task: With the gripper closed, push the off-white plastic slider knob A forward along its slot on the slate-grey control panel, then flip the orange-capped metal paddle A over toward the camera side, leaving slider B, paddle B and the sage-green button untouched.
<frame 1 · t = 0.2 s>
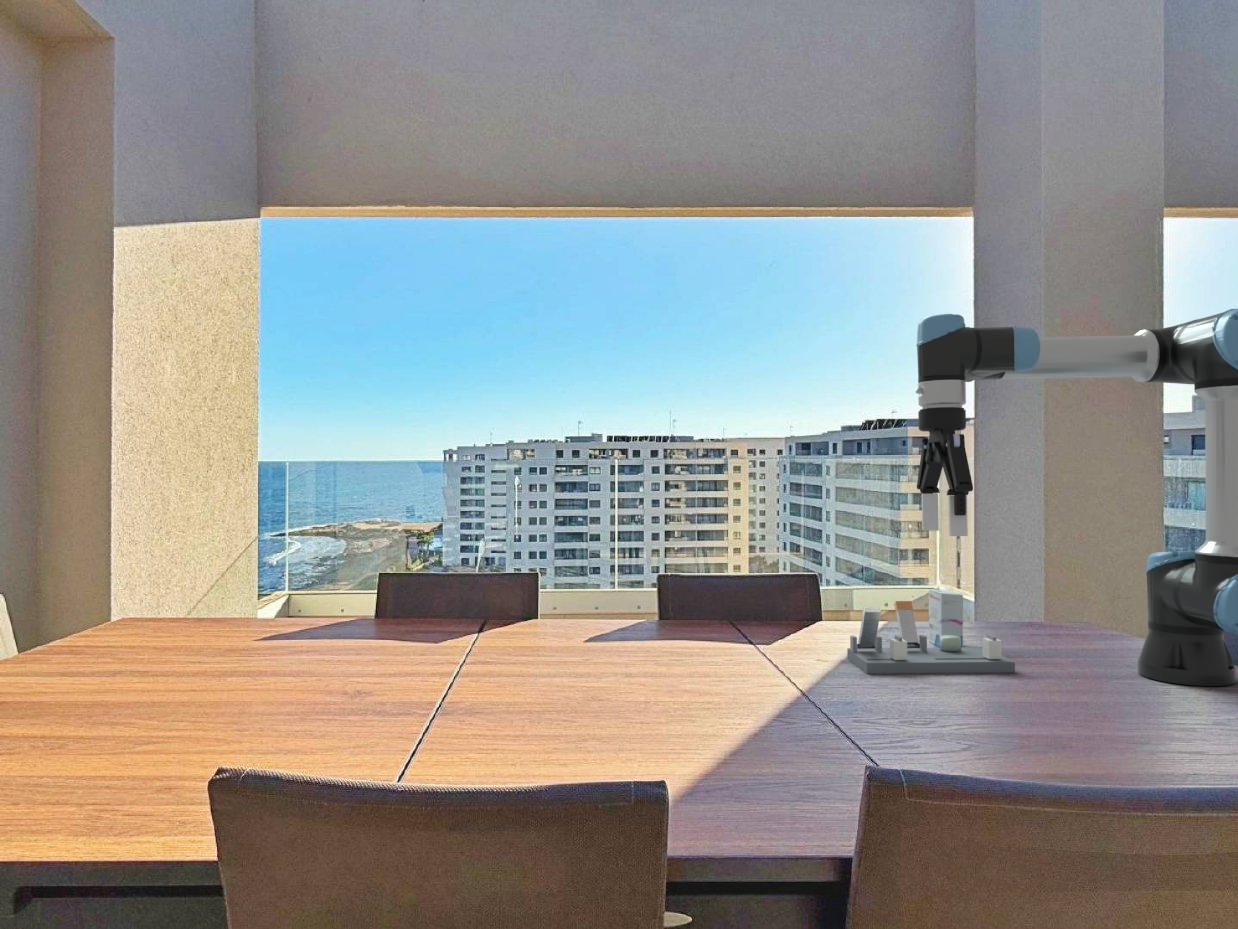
hand: (943, 533, 147), 28 cm above the table, fingers open, 13 cm apart
slider b: (898, 647, 168), point 4 cm above the table, slide at 0.0 cm
panel: (927, 665, 172), on the table
toggle a: (906, 625, 178), point 7 cm above the table, hinge at -30.0°
slider a: (992, 646, 168), point 4 cm above the table, slide at 0.0 cm
ink box: (945, 645, 192), on the table
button: (950, 643, 176), point 3 cm above the table, slide at 0.0 cm
toggle b: (868, 629, 174), point 7 cm above the table, hinge at 30.0°
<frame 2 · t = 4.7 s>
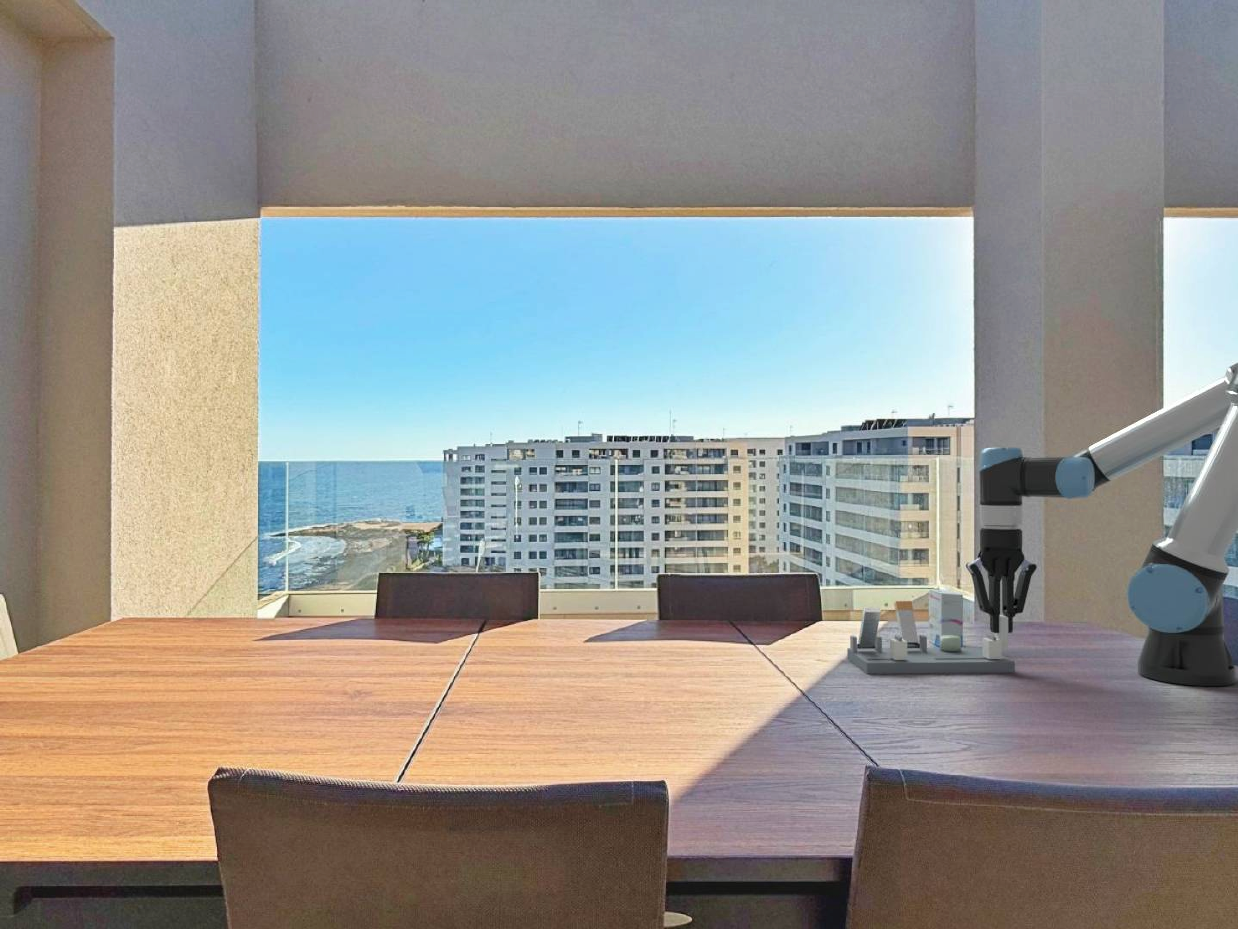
hand: (1001, 649, 168), 4 cm above the table, fingers closed
slider a: (991, 646, 168), point 4 cm above the table, slide at 0.0 cm, touching gripper
everything else where it was.
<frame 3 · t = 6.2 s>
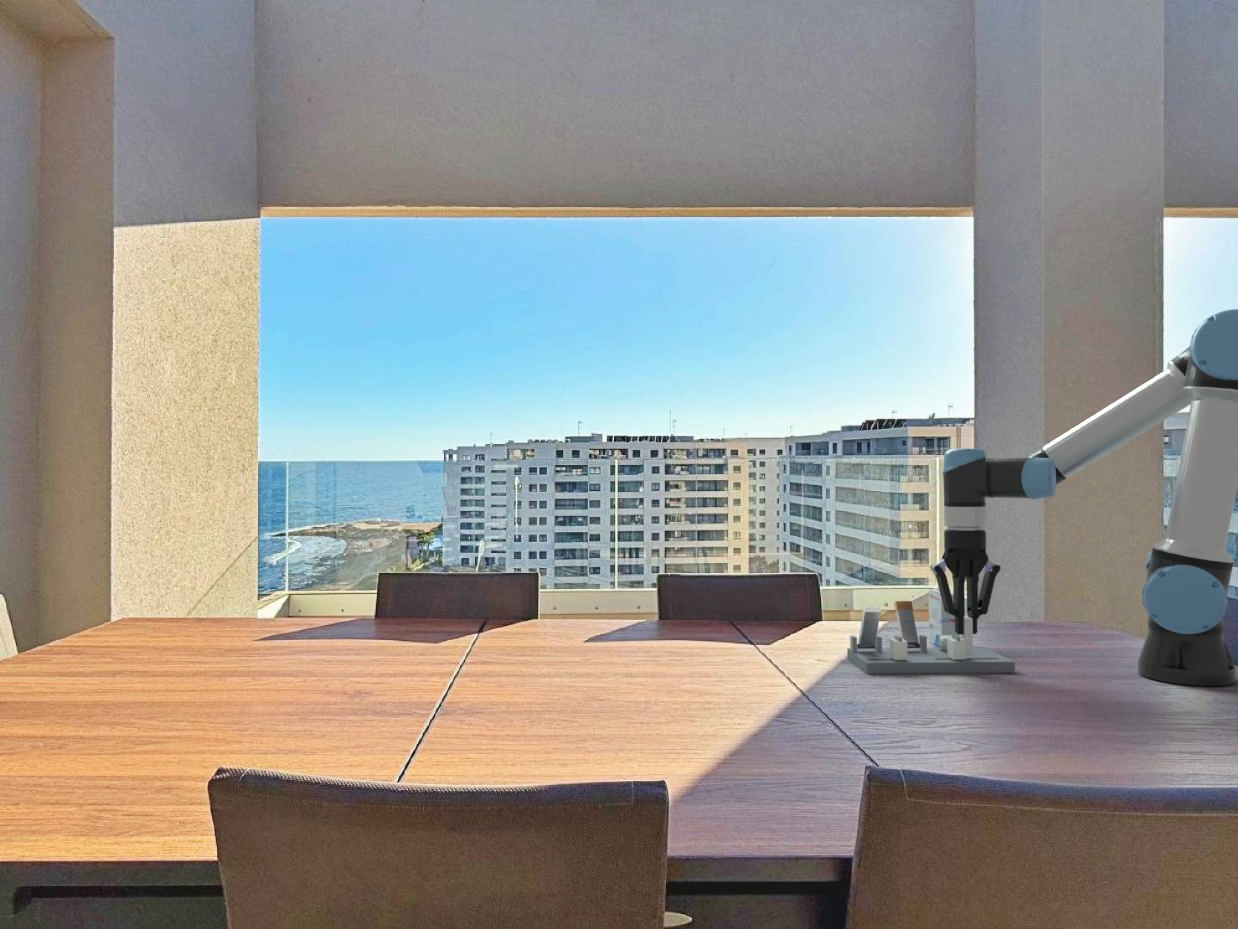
hand: (966, 651, 168), 3 cm above the table, fingers closed
slider a: (956, 647, 168), point 4 cm above the table, slide at 6.9 cm, touching gripper
everything else where it was.
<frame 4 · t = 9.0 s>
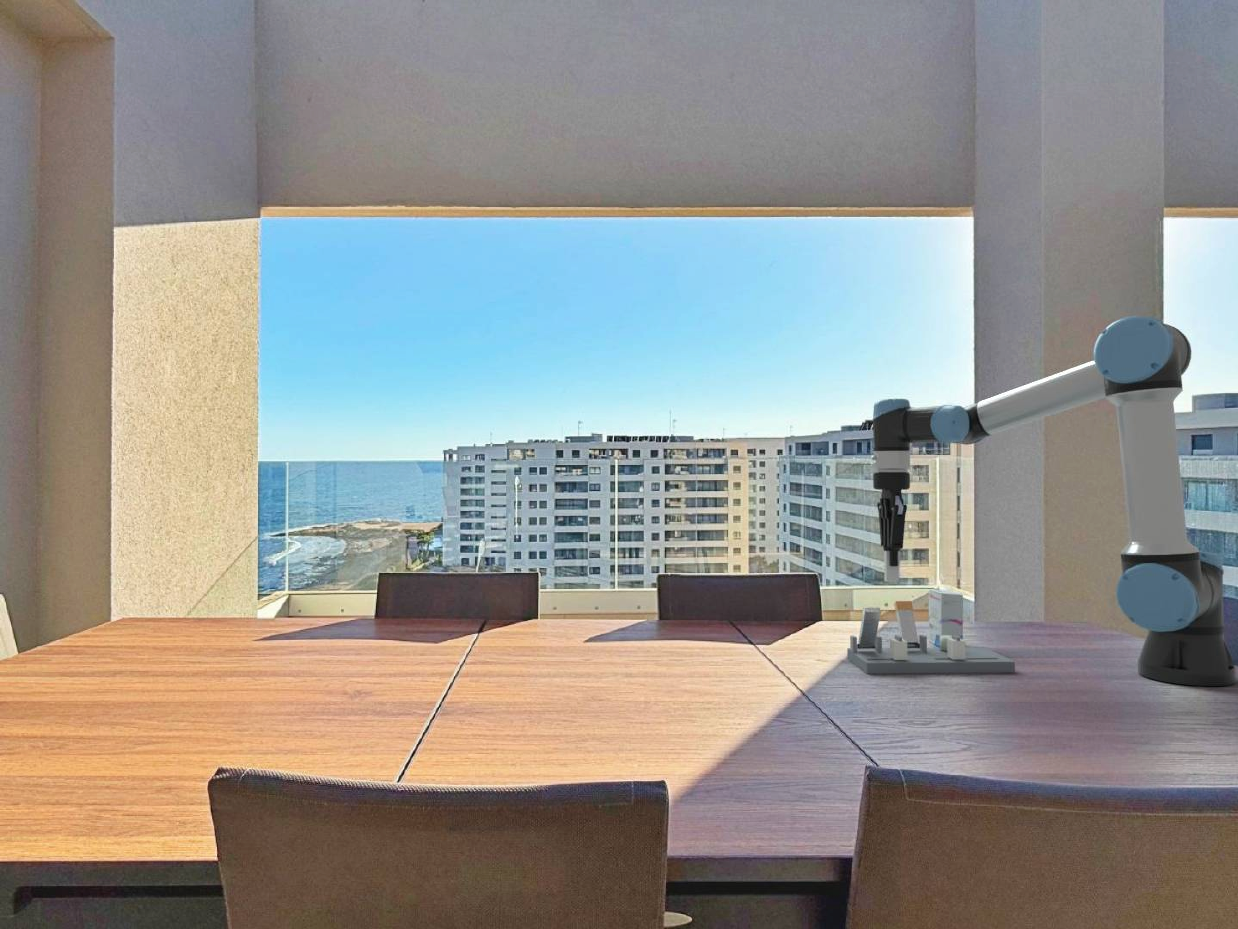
hand: (891, 581, 187), 15 cm above the table, fingers closed
slider a: (956, 647, 168), point 4 cm above the table, slide at 6.9 cm
everything else where it was.
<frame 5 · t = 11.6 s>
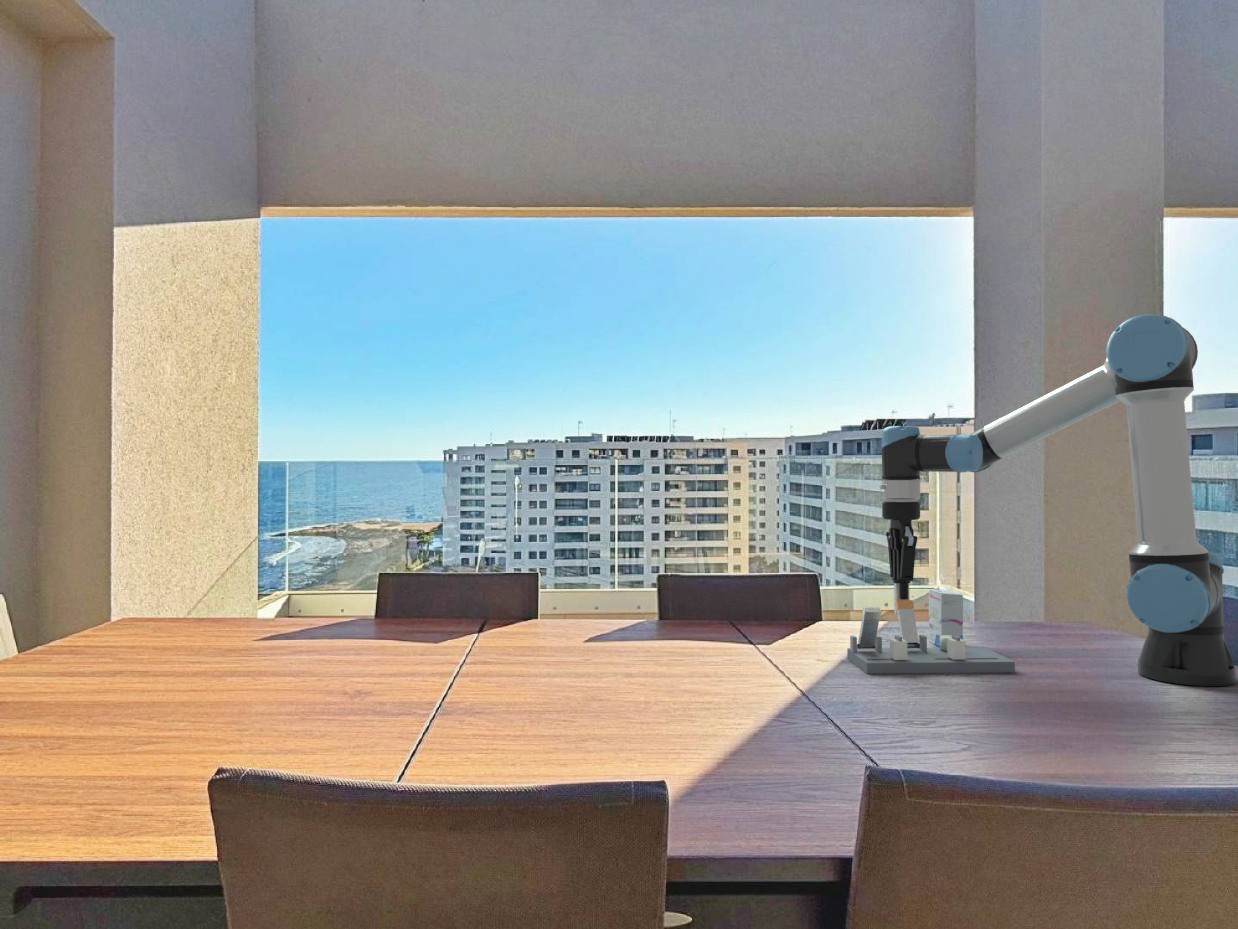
hand: (901, 614, 181), 9 cm above the table, fingers closed
toggle a: (907, 624, 178), point 7 cm above the table, hinge at -25.1°, touching gripper
everything else where it was.
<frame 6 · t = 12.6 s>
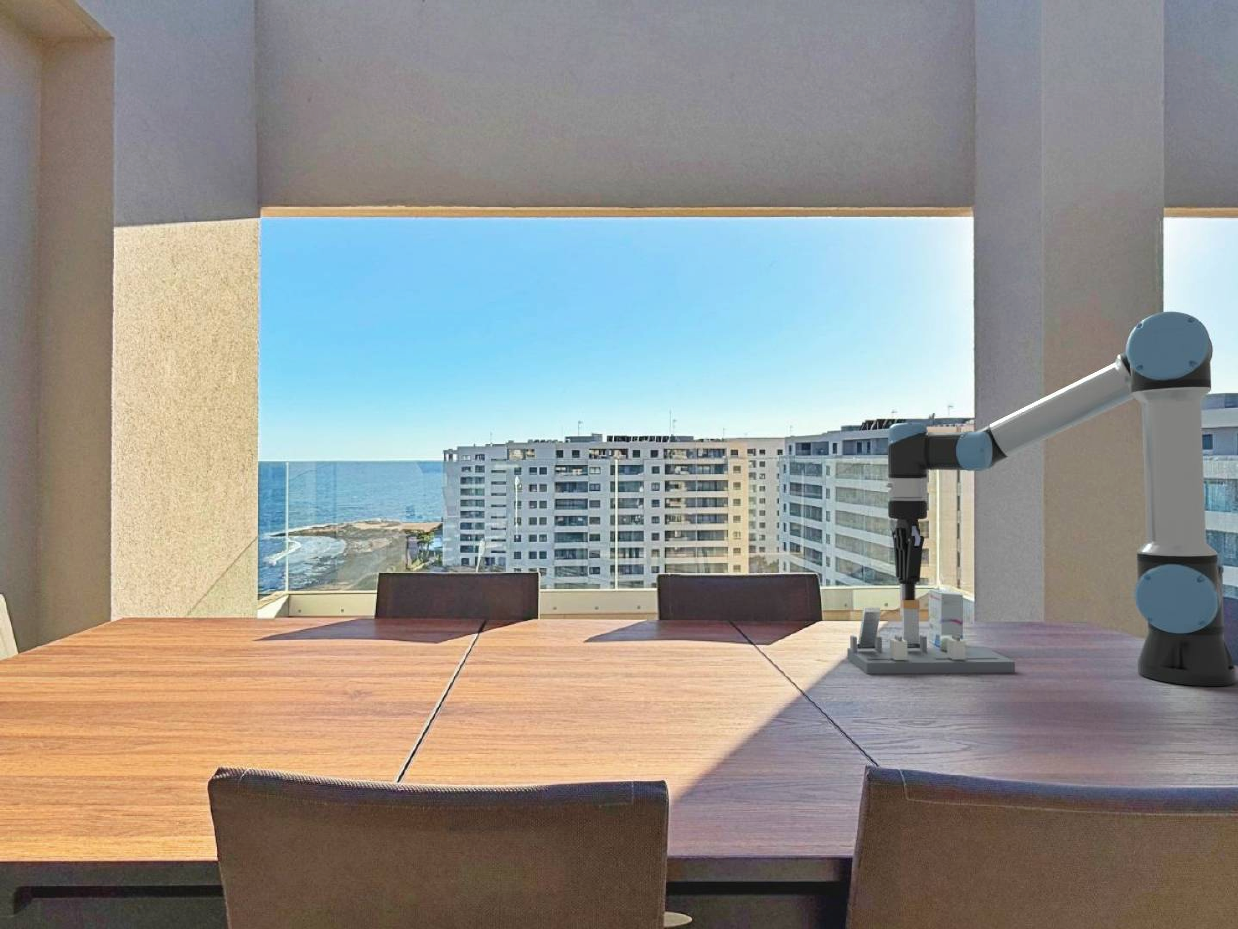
hand: (907, 615, 177), 9 cm above the table, fingers closed
toggle a: (910, 624, 176), point 7 cm above the table, hinge at 0.8°, touching gripper
everything else where it was.
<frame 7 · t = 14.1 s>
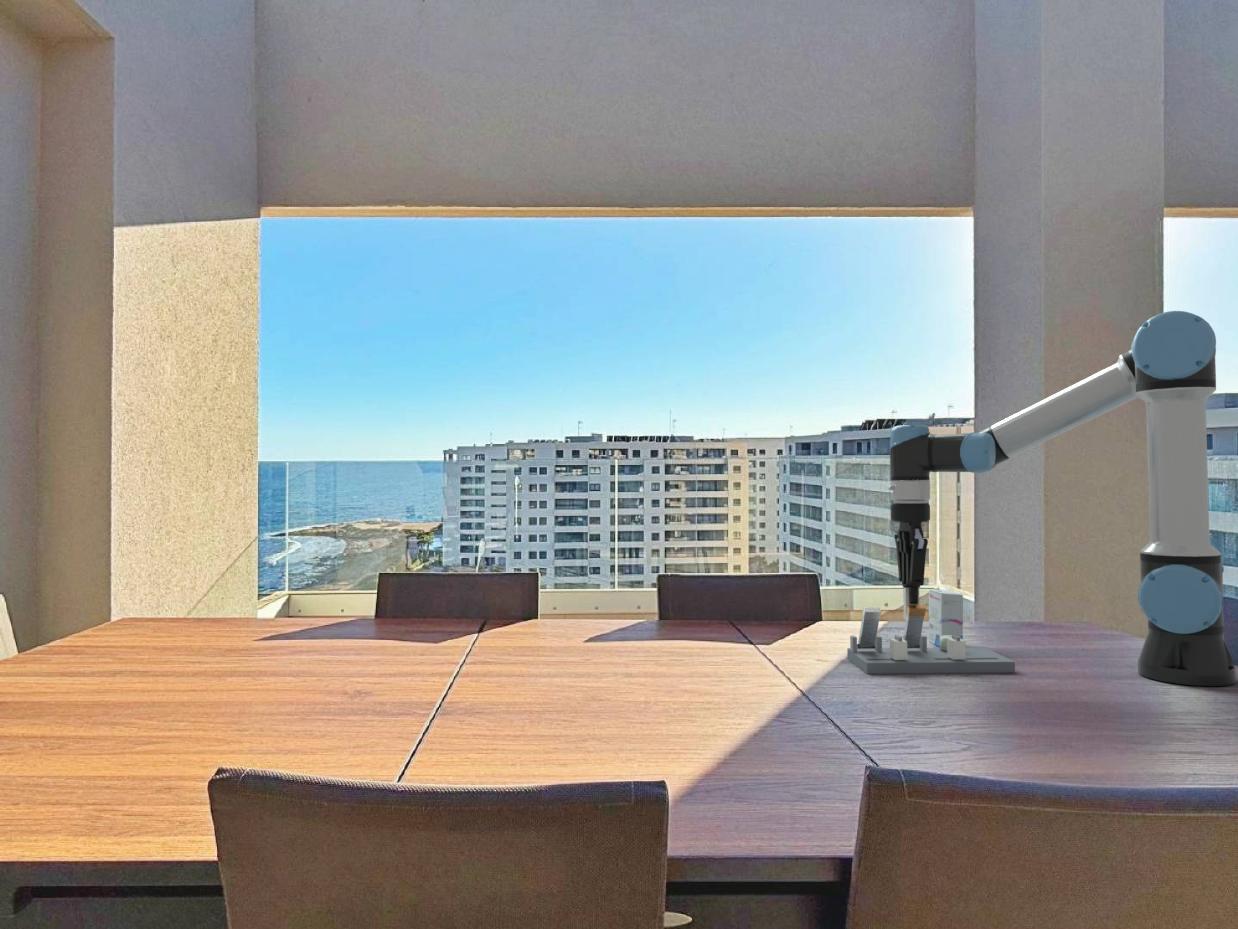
hand: (911, 619, 175), 8 cm above the table, fingers closed
toggle a: (913, 627, 174), point 7 cm above the table, hinge at 24.3°
everything else where it was.
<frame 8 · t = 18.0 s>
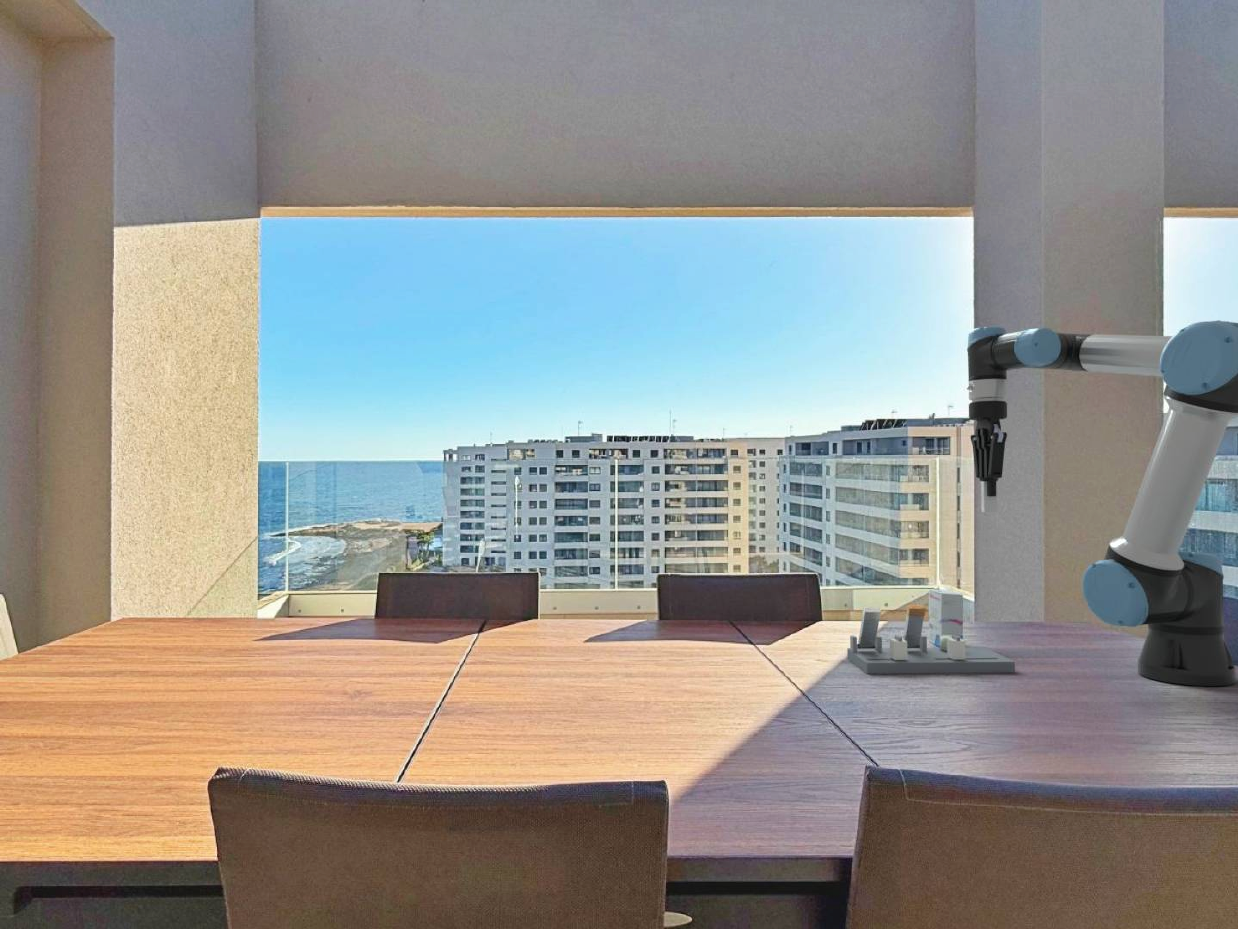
hand: (989, 511, 185), 29 cm above the table, fingers closed
nothing on the table moved.
at the end: slider a slide at 6.9 cm; toggle a at +24° (first picture: -30°); slider b slide at 0.0 cm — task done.
